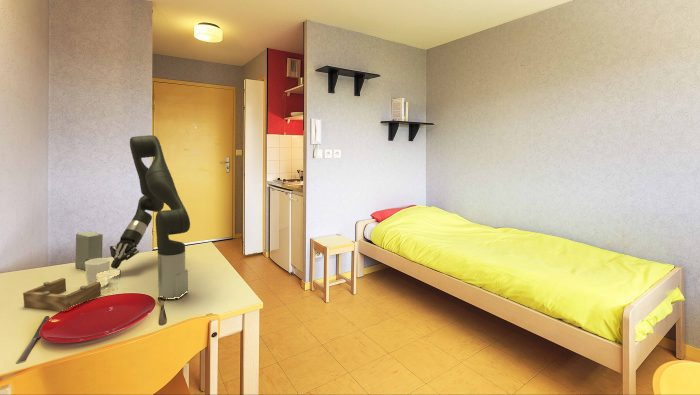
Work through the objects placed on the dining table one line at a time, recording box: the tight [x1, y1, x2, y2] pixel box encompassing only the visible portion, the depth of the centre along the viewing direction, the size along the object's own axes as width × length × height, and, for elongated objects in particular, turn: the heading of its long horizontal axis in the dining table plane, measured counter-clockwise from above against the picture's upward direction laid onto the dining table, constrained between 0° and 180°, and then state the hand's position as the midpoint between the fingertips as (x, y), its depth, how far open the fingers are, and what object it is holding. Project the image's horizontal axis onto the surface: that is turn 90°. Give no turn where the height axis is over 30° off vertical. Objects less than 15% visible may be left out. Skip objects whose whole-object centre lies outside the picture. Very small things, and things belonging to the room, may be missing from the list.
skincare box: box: [74, 231, 104, 271], centre depth 152 cm, size 8×7×16 cm
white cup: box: [84, 257, 110, 286], centre depth 134 cm, size 8×8×10 cm
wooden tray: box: [22, 277, 102, 312], centre depth 121 cm, size 16×14×6 cm
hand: (113, 267), depth 142 cm, fingers closed
